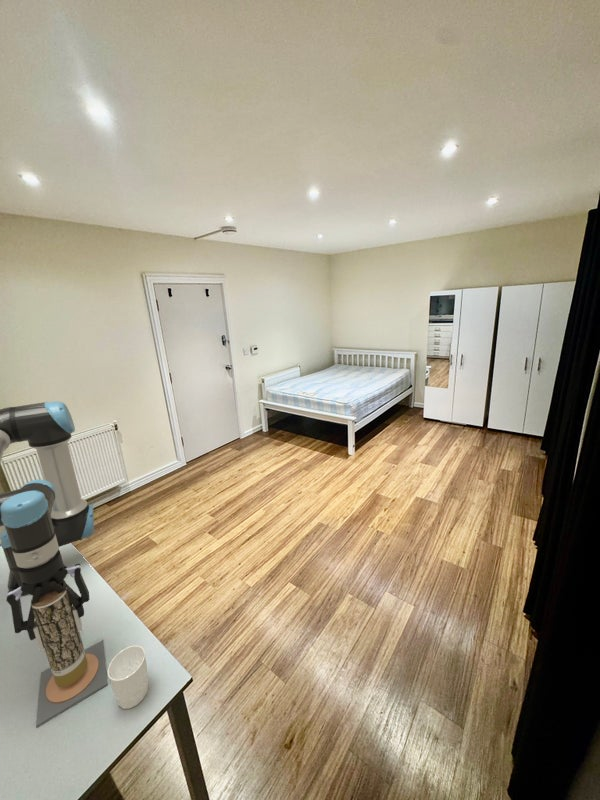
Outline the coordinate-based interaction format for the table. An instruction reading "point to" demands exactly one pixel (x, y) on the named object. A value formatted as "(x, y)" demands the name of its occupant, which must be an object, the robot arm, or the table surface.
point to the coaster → (71, 686)
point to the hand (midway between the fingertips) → (61, 636)
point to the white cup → (129, 676)
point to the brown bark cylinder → (60, 637)
